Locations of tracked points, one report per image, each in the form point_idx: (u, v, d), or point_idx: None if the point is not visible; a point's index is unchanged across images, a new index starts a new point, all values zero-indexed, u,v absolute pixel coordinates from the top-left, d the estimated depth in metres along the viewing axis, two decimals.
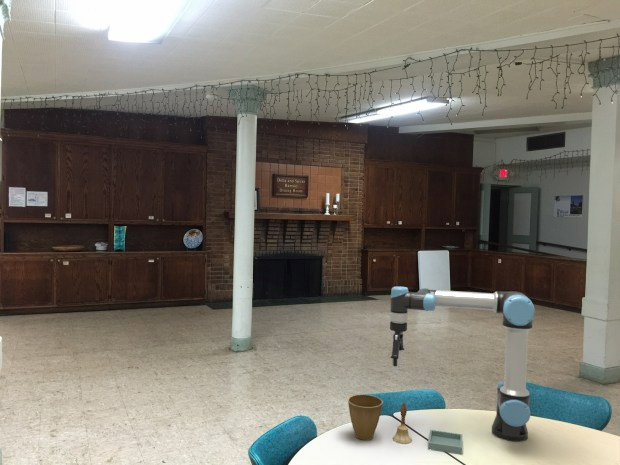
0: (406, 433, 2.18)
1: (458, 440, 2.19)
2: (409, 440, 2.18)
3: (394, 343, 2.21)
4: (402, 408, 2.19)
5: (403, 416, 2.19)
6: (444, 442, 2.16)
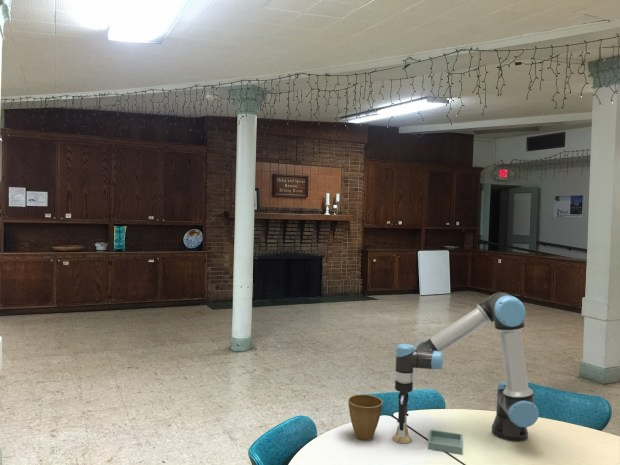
0: (406, 433, 2.18)
1: (458, 440, 2.19)
2: (409, 440, 2.17)
3: (400, 408, 2.14)
4: None
5: None
6: (444, 442, 2.16)
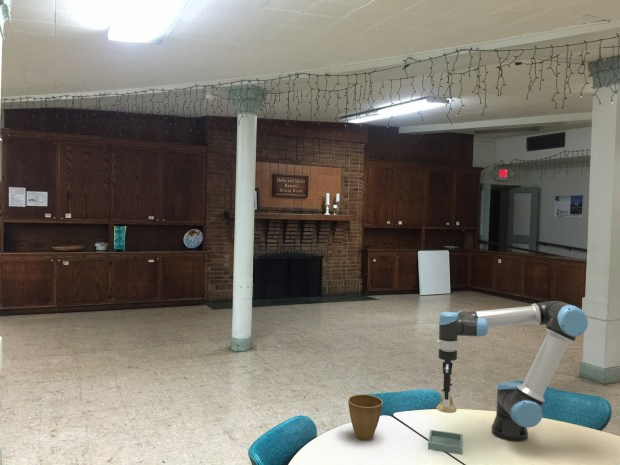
0: (451, 403, 2.13)
1: (458, 440, 2.19)
2: (454, 409, 2.13)
3: (445, 377, 2.09)
4: None
5: None
6: (444, 442, 2.16)
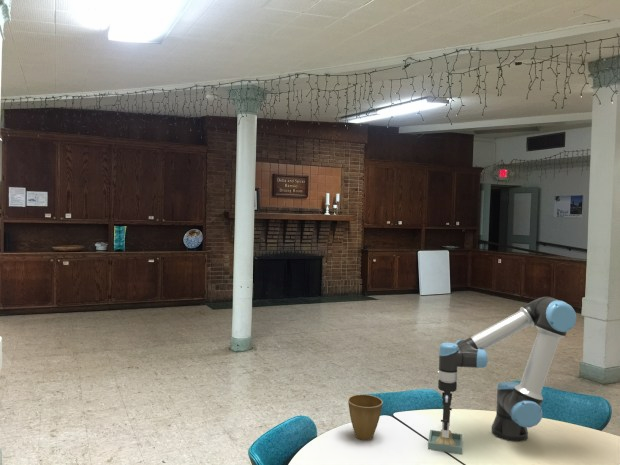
0: (450, 437, 2.14)
1: (458, 440, 2.19)
2: (453, 444, 2.13)
3: (445, 406, 2.08)
4: None
5: None
6: None
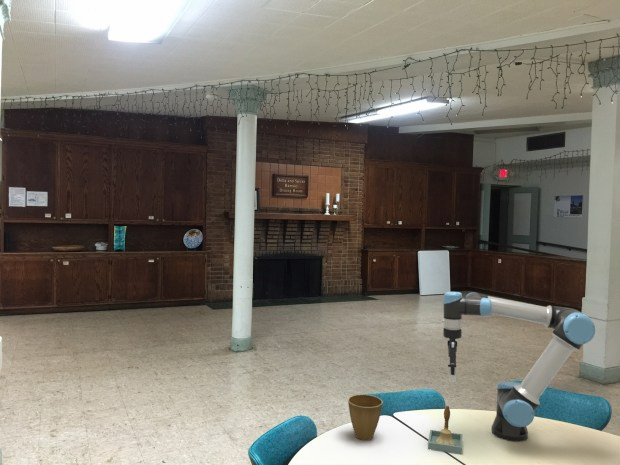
0: (450, 437, 2.14)
1: (458, 440, 2.19)
2: (453, 444, 2.13)
3: (451, 351, 2.12)
4: (446, 411, 2.14)
5: (447, 419, 2.15)
6: None
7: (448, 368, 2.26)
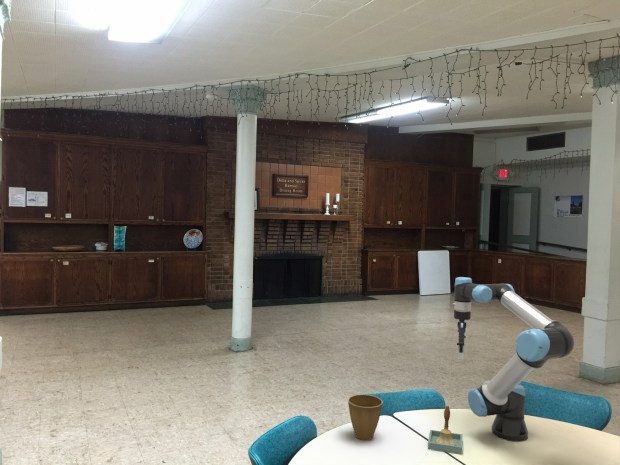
0: (450, 437, 2.14)
1: (458, 440, 2.19)
2: (453, 444, 2.13)
3: (460, 331, 2.32)
4: (446, 411, 2.14)
5: (447, 420, 2.15)
6: None
7: None
